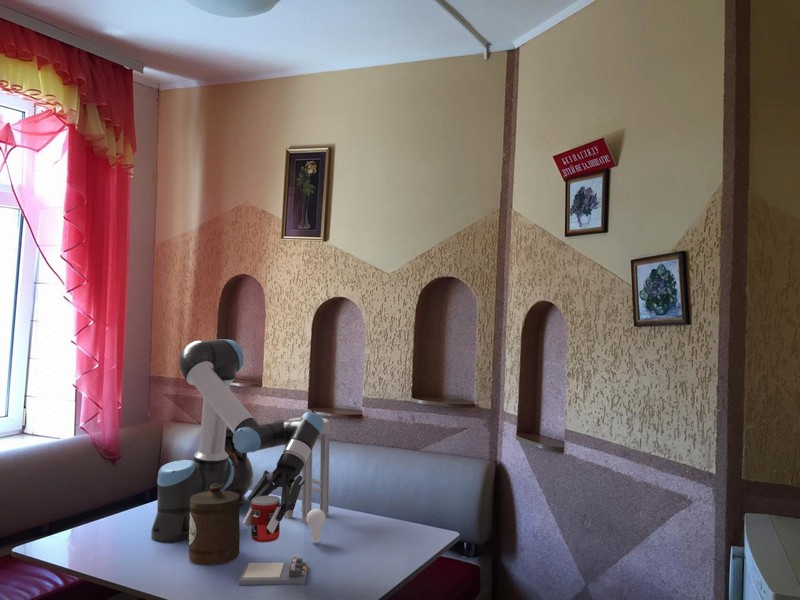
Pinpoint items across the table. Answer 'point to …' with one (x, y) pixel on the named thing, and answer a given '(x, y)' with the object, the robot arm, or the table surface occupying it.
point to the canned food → (264, 518)
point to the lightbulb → (315, 523)
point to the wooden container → (214, 527)
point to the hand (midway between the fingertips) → (257, 527)
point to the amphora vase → (238, 469)
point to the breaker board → (275, 573)
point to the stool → (323, 482)
